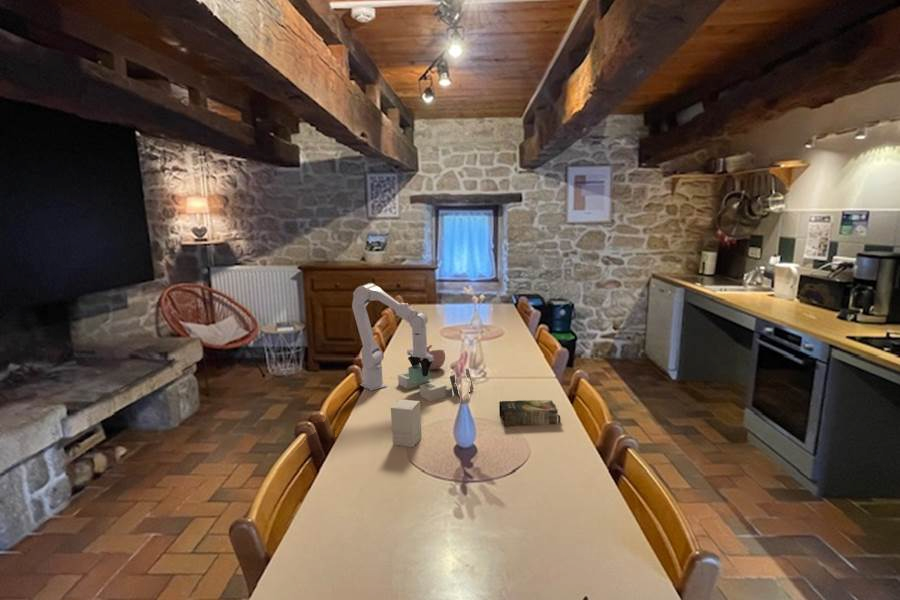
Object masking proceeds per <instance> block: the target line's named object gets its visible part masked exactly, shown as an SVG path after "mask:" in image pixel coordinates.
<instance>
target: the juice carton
mask: <svg viewBox="0 0 900 600" xmlns="http://www.w3.org/2000/svg"><path fill="white" fill-rule="evenodd" d="M498 404H499V405H498V406H499V407H498V409H499V416H502V422H503V426H506V425H507V426H509V425H513V426H514V427H516V426H520V427H522V426H539V425H541V426H543V425H544V426H545V425H546V426H547V425H558V424H559V423H560V422H561V415H560V414H559V409H558V406H557V405H556V404H555V403H554V402H553V400H552V399H551V400H550V399H549V400H548V399H545V400H544V399H543V400H541V399H540V400H539V399H538V400H537V399H535V400H534V399H531V400H528V399H527V400H526V399H525V400H524V399H523V400H501V401H500V400H499V403H498Z"/></svg>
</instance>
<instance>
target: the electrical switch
mask: <svg viewBox="0 0 900 600" xmlns="http://www.w3.org/2000/svg"><path fill="white" fill-rule="evenodd" d="M465 369H466V375H467V377H468V378H470V380H471V386H470V392H469V393H471V392H473V391H474V389H475V388H474V385H473V381H472V376H471V374H470V370H469V368H465ZM455 374H456V373H454V374H452V375H450V376H449V379H450V383H451V388H452V393H453V395H454V396H455V395H457V396H458V397H459V394H458V389H457V386H456V384H455Z"/></svg>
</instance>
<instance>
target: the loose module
mask: <svg viewBox="0 0 900 600" xmlns="http://www.w3.org/2000/svg"><path fill="white" fill-rule="evenodd" d="M407 368H408V369H407V370H408V372H409V382H412V383H415V384H420V383H422V382H425V381H427V380H429V379H430V378H431V374H430V371H431V370H429V372H428V376H425V377H424V376H423V374H422V367H421V364H417V365H414V366H412V365H411V366H410V367H407Z"/></svg>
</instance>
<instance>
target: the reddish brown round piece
mask: <svg viewBox="0 0 900 600" xmlns="http://www.w3.org/2000/svg"><path fill="white" fill-rule="evenodd" d="M432 346H433V345H432V344H430V345H429V346H427V352H428V353H429V354H431V355H432V356H434V361H432V363H431V365H430V368H429V370H430V371H435V370H438V369H440V368H441V367H442V366H443V365H444V363H445V361H446V353H445V350H443V349H434V350H433V349H432V350H430V349H431V348H432ZM420 360H423V358H421V359H420Z"/></svg>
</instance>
